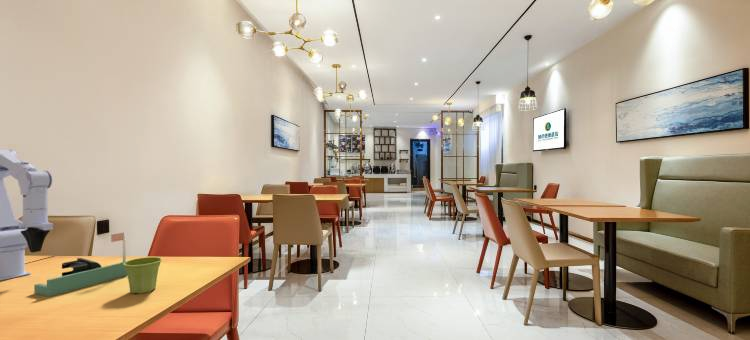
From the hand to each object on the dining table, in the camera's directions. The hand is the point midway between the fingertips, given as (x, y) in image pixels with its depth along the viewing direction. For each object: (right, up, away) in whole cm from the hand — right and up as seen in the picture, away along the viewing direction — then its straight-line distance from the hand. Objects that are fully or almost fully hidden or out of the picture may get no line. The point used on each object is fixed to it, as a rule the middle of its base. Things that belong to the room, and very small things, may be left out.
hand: (35, 251), depth 112 cm
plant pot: (+40, -9, -9) cm, 43 cm away
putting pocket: (+18, -9, -2) cm, 20 cm away
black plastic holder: (+15, -10, -1) cm, 18 cm away
